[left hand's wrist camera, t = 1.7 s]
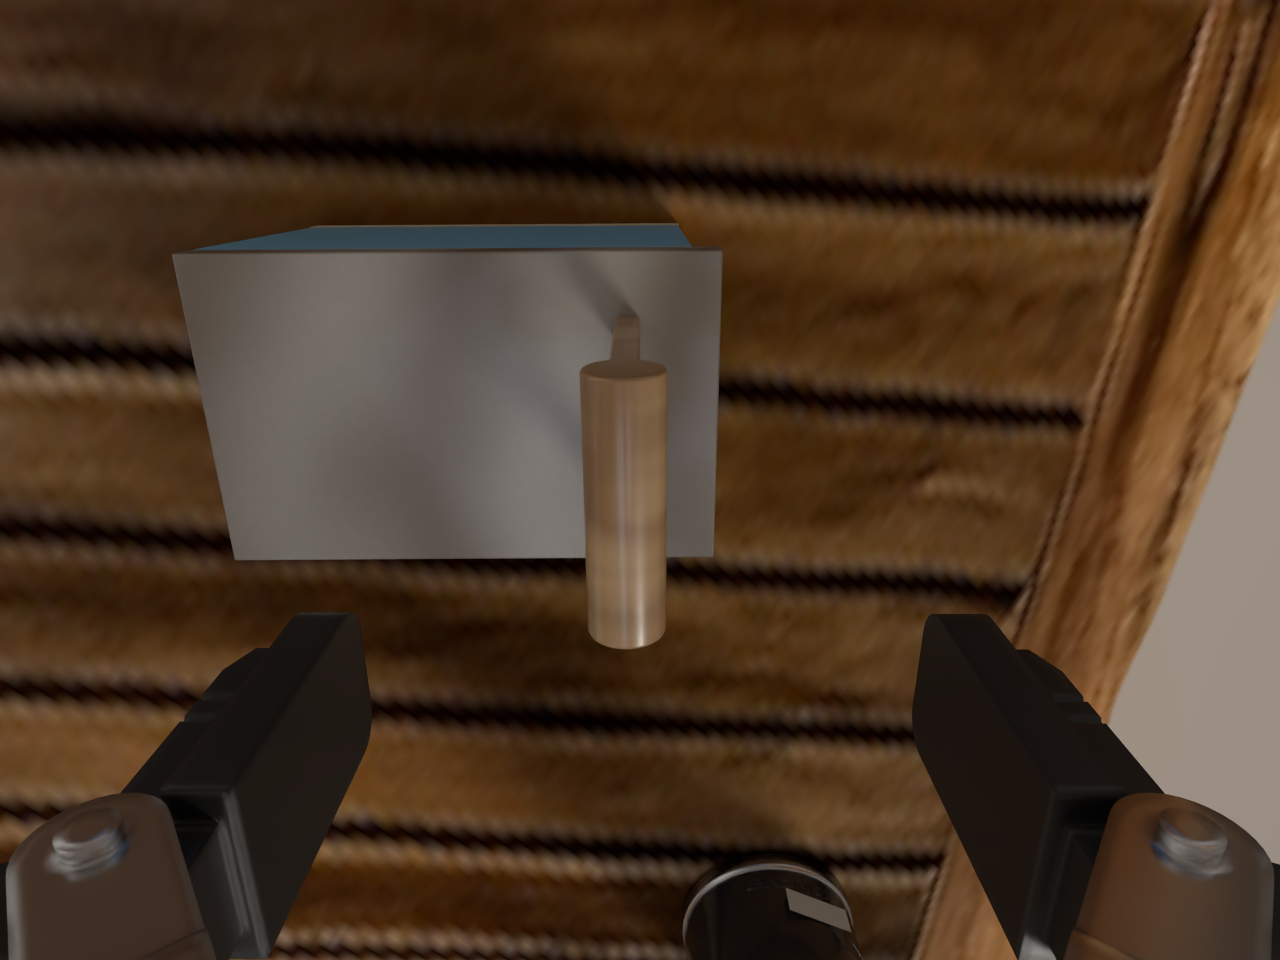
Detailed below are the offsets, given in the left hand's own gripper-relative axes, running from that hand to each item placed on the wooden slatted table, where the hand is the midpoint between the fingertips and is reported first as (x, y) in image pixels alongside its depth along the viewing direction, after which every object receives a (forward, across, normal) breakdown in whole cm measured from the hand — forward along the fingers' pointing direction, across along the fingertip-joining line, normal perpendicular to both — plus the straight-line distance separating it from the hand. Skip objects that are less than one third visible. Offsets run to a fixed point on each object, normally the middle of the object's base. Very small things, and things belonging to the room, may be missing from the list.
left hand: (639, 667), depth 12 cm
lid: (+14, +5, 0) cm, 15 cm away
